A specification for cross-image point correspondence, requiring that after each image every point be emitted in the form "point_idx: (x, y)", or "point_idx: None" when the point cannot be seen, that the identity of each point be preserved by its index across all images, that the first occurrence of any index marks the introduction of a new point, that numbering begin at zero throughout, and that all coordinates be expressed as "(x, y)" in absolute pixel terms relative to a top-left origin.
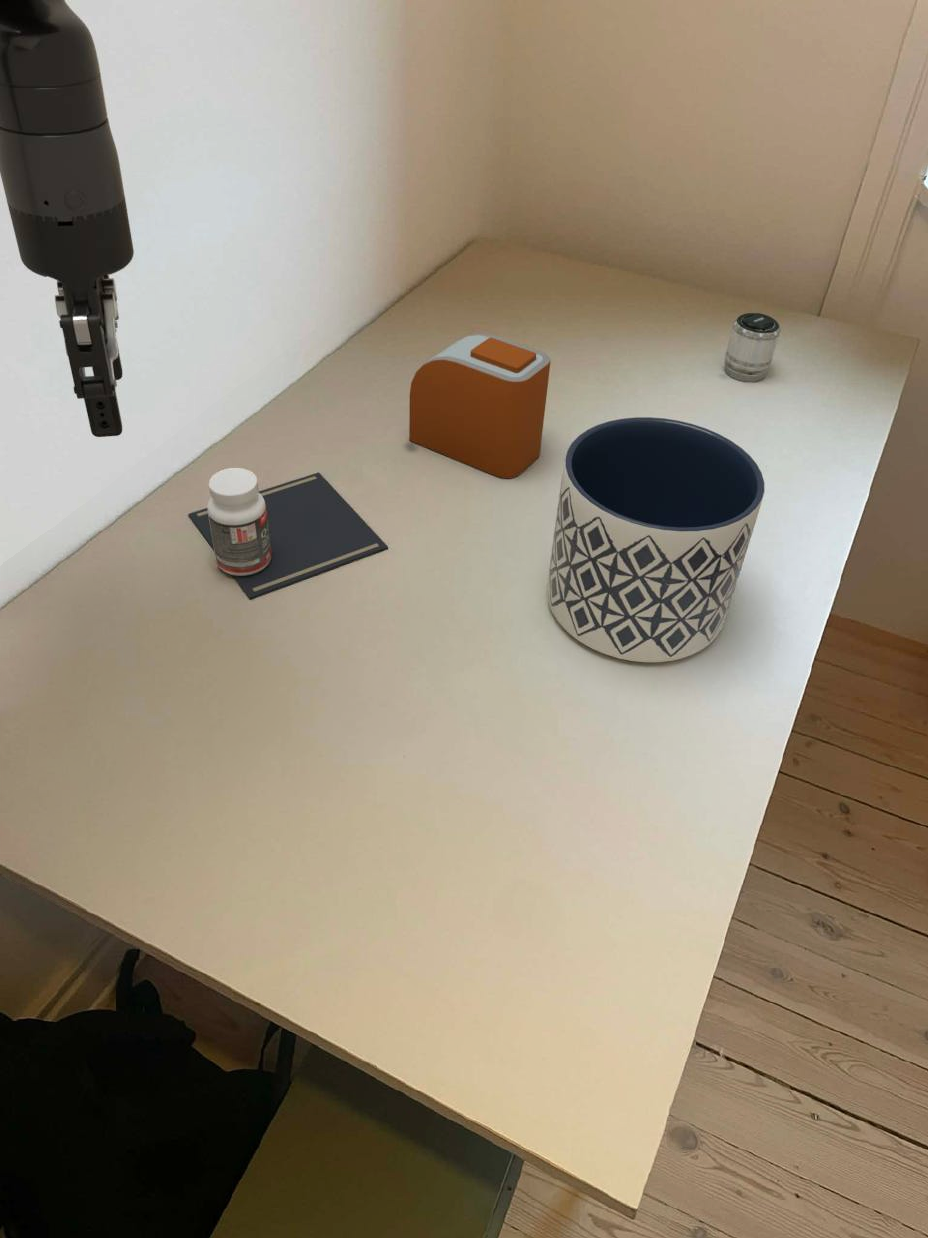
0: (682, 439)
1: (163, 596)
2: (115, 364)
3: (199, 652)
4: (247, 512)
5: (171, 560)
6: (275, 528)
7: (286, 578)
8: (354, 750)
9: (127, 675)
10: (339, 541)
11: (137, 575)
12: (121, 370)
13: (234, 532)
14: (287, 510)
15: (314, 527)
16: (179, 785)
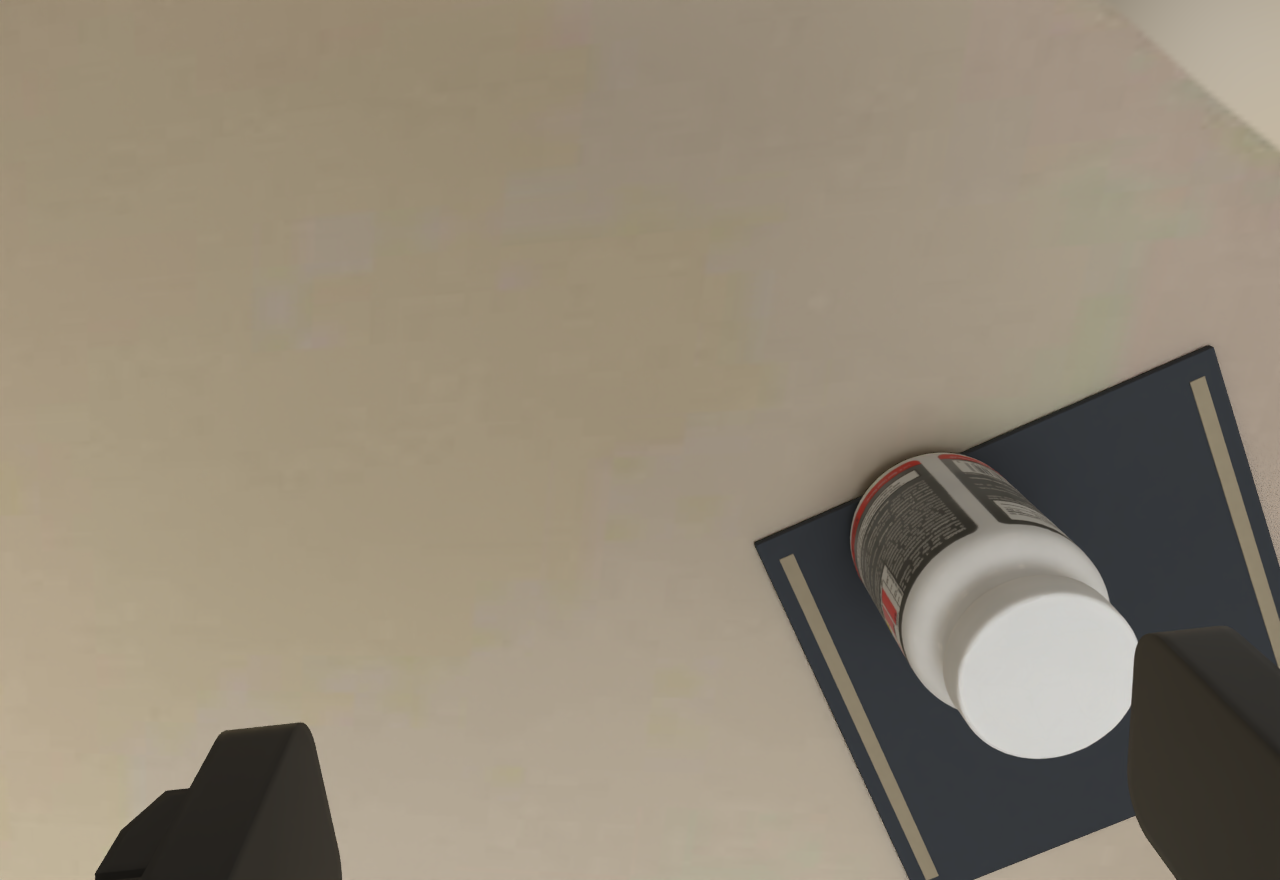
0: None
1: (807, 291)
2: (1199, 871)
3: (544, 411)
4: (934, 675)
5: (982, 304)
6: None
7: (824, 645)
8: (172, 784)
9: (463, 211)
10: (967, 784)
11: (926, 199)
12: (1168, 860)
13: (894, 598)
14: None
15: None
16: (49, 386)
